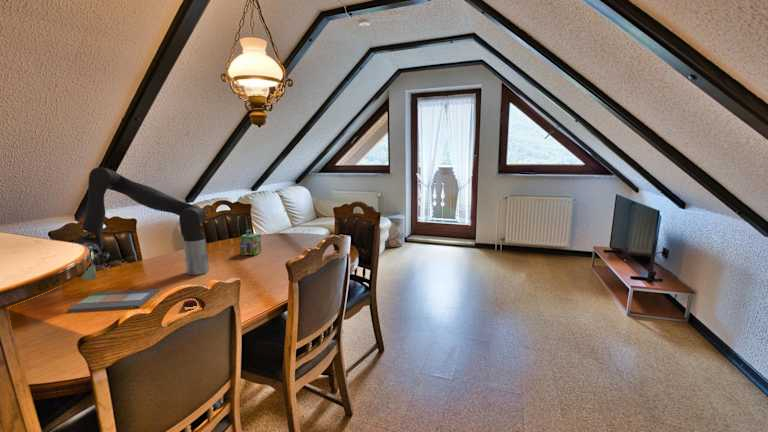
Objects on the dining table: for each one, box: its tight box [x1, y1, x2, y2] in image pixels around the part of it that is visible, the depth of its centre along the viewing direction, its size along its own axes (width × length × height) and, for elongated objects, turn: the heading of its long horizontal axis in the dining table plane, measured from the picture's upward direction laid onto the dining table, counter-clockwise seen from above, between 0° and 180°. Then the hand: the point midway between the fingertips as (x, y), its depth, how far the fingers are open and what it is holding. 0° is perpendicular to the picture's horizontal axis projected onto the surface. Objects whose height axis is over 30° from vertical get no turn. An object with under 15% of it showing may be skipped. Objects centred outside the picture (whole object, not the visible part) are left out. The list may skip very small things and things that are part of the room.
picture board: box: [67, 288, 160, 313], centre depth 135 cm, size 24×16×1 cm, turn 101°
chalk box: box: [238, 228, 262, 256], centre depth 201 cm, size 9×9×15 cm
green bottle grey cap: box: [82, 246, 98, 282], centre depth 131 cm, size 4×4×13 cm
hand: (87, 263), depth 129 cm, fingers closed on green bottle grey cap, 4 cm apart
